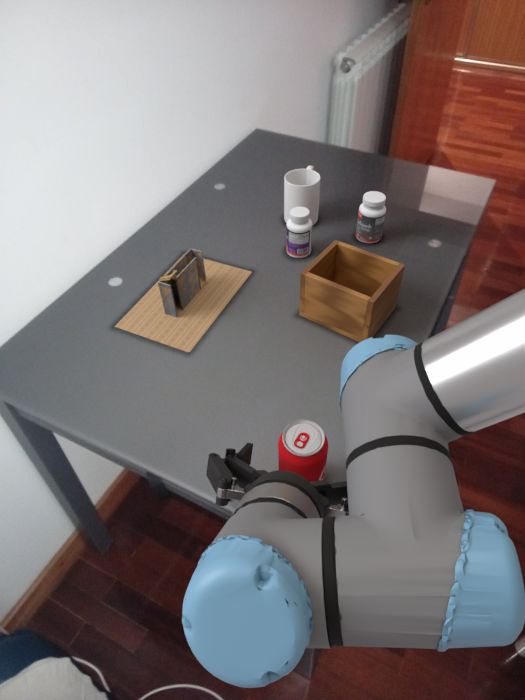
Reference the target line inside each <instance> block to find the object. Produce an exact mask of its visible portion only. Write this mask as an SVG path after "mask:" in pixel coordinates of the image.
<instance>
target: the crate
mask: <svg viewBox="0 0 525 700" xmlns="http://www.w3.org/2000/svg"><path fill="white" fill-rule="evenodd" d="M405 268H406V265H405V264H404V263H401V262H398V261H395V260H393V259H391V258H388V257H386V256H382V255H379V254H377V253H374V252H371V251H368V250H365V249H362V248H360V247H357V246H354V245H352V244H348V243H347V242H343V241H341V240H337V239H334V240H333V241H332V242H331V243H330V244H329V245H328V246H327V247H326V248H324V250H323V251H322V252H320V253H319V254H318V256H316V257H315V259H313V260H312V262H310V263H309V264H308V265H307V266H306V267H304V269H303V270H302V271H301V272H300V274H299V275H300V277H299V280H300V281H299V306H298V316H300V317H302V318H305V319H307V320H309V321H311V322H313V323H315V324H318V325H320V326H322V327H325V328H327V329H329V330H330V331H333V332H335V333H337V334H340V335H342V336H344V337H347V338H349V339H351V340H353V341H354V342H355V341H356V342H358V343H360V342H361V341H363V340H366V339H368V338H371V337H373V338H374V336H375V334H376V333H377V332H378V331H379V330H380V328H381V327H382V325H384V323H385V322H386V320H387V319H388V318H389V317H390V315H391V314H392V313H393V311H394V310H395V309H396V307H397V302H398V299H399V294H400V289H401V286H402V281H403V276H404V271H405Z"/></svg>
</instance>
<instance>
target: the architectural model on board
mask: <svg viewBox="0 0 525 700" xmlns="http://www.w3.org/2000/svg"><path fill="white" fill-rule="evenodd" d="M252 273H253V271H250V270H249V269H248V270H247V269H244V268H241V267H236V266H233V265H229V264H226V263H223V262H222V263H221V262H218V261H214V260H211V259H208V258H204V254H203V251H202V250H199V249H196V248H191V247H190V248H189V249H188V250H187V251H185V253H183V255H181V257H179V259H178V260H176V262H175V263H174V264H173V265H172V266H171V267H170V268H169V269H168V270H167V271H166V272H165V274H163V275H162V276H161V277H159V280H158V281H157V282H155V284H153V286H152V287H151V288H150V289H149V290H148V291H147V292H146V293H145V294H144V295H143V296H142V297H141V298H140V299H139V301H137V302H136V304H134V305H133V306H132V308H131V309H130V310H129V311H128V312H127V313H126V314H125V315H124V316H123V317H122V318H121V319H120V320H119V321H118V323H116V324H115V326H114V328H116V329H120V330H122V331H124V332H125V331H126V332H128V333H131V334H134V335H137V336H140V337H143V338H145V339H148V340H151V341H154V342H156V343H159V344H162V345H166V346H168V347H171V348H174V349H177V350H180V351H183V352H185V353H187V354H188V353H191V352H192V350H193V349H194V348H195V347H196V345H197V344H198V343H199V341H201V339H202V338H203V336H204V335H205V333H206V332H207V331H208V330H209V329H210V327H211V325H212V324H213V323H214V322H215V321H216V319H217V318H218V317H219V316H220V314H221V313H222V312H223V310H224V309H225V308H226V307H227V305H228V304H229V303H230V301H231V300H232V299H233V297H235V295H236V294H237V293H238V291H239V290H240V289H241V288H242V287H243V284H245V282H246V281H247V279H248V278H249V277H250V276H251V274H252Z"/></svg>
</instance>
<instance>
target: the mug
mask: <svg viewBox="0 0 525 700" xmlns="http://www.w3.org/2000/svg"><path fill="white" fill-rule="evenodd" d="M283 184H284V185H283V193H284V194H283V219H284V222H285V223H286V224H287V221H288V219H290V210H291V209H292V208H294V207H305V208H307V209H309V211H310V217H309V218H310V219H311V221H312V227H313V226H314V225H316V224H317V222H318V220H319V210H320V209H319V208H320V193H321V175H320V173H319V172H318V171H316V170H315V167H314V165H307V167H306V168H295V169H291V170H289V171H287V172H286V173H285V174H284V177H283Z"/></svg>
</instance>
